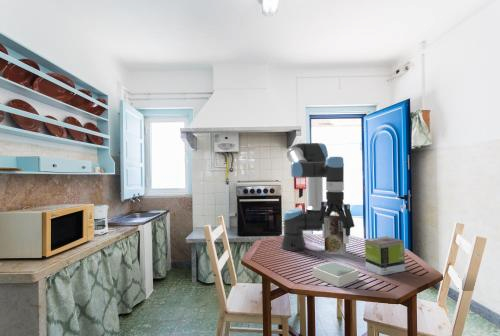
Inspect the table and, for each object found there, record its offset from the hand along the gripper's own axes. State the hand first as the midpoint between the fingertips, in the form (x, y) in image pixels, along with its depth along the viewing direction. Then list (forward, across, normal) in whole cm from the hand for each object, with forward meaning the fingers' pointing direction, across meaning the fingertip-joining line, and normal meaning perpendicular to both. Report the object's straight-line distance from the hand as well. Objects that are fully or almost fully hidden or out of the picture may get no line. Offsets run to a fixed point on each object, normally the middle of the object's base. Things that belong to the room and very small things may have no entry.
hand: (335, 240), depth 123 cm
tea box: (+17, +8, +27) cm, 33 cm away
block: (+17, 0, 0) cm, 17 cm away
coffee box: (+6, 0, 0) cm, 6 cm away
